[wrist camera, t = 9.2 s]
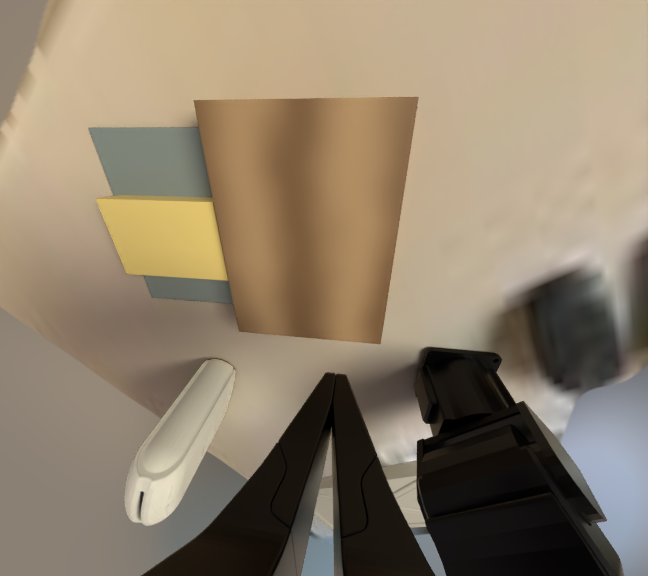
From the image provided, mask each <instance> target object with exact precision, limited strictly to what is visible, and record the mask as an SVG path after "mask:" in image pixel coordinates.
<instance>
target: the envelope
mask: <svg viewBox="0 0 648 576" xmlns="http://www.w3.org/2000/svg"><path fill="white" fill-rule="evenodd" d="M382 469H383V471H384V474H385V476H386V479H387V481H388V483H389V486H390V488H391V490H392V492H393V494H394V496H395V499H396V501H397V503H398V505H399V507H400V509H401V511H402V513H403V515H404V517H405V519H406V521H407V523H408V525H409V527H426V525H425V520H424V518H423V515H422V512H421V509H420V506H419V504H418V501H417V488H416V480H417V461H412V462H406V463H401V464H395V465H390V466H385V467H382ZM314 515H315V516H316V517H317V518H318V519H319V520H321V521H322V522H323V523H324V524H325V525H327V526H328V527H329V528H330V529H331V530H333V484H332V476H331V477H326V478H321V483H320V488H319V492H318V497H317V502H316V507H315V511H314Z"/></svg>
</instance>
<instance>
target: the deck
mask: <svg viewBox="0 0 648 576" xmlns="http://www.w3.org/2000/svg"><path fill="white" fill-rule="evenodd" d="M417 103H418V97H381V98H315V99H250V100H194V104H195V109H196V115H197V120H198V125H199V130H200V135H201V140H202V145H203V150H204V155H205V161H206V166H207V171H208V176H209V181H210V186H211V191H212V196H213V201H214V207H215V212H216V217H217V222H218V227H219V232H220V237H221V242H222V247H223V253H224V258H225V263H226V268H227V273H228V278H229V283H230V288H231V293H232V299H233V304H234V309H235V314H236V319H237V324H238V329H239V332H250V333H261V334H273V335H284V336H295V337H306V338H317V339H328V340H339V341H351V342H362V343H373V344H381V337H382V331H383V324H384V318H385V311H386V305H387V298H388V292H389V285H390V279H391V272H392V266H393V259H394V253H395V246H396V240H397V233H398V227H399V220H400V214H401V207H402V201H403V194H404V188H405V181H406V175H407V168H408V162H409V155H410V149H411V142H412V136H413V129H414V123H415V116H416V110H417Z"/></svg>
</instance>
